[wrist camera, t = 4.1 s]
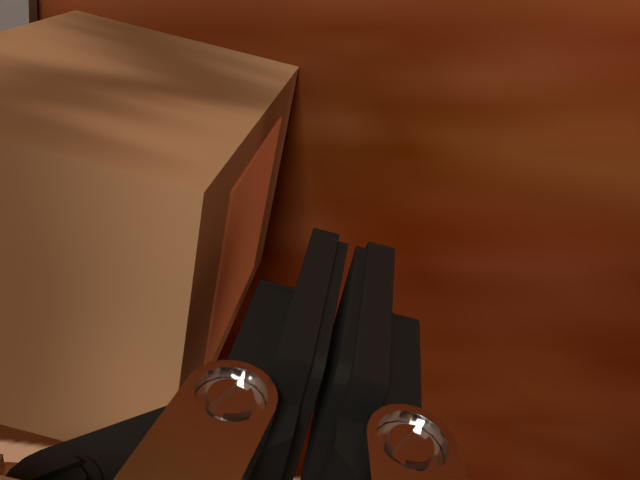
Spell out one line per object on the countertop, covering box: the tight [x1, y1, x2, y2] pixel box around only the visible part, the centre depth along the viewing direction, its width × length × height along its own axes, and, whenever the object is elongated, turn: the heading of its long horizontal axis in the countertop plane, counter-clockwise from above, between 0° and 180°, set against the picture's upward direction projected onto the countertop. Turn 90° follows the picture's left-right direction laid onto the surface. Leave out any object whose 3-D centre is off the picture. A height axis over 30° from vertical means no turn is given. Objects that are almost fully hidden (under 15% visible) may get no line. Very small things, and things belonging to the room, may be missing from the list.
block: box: [0, 10, 299, 441], centre depth 14 cm, size 6×6×8 cm
